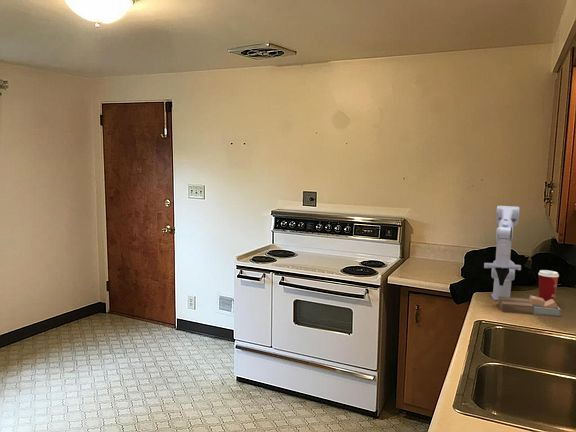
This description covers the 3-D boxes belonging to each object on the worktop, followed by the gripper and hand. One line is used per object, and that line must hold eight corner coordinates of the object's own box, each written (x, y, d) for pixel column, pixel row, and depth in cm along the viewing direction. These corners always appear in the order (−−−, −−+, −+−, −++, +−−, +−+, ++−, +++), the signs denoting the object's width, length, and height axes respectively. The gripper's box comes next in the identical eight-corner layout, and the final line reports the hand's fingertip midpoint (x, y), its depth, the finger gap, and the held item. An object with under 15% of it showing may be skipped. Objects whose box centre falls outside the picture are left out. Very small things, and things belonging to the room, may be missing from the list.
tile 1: (528, 300, 212) (530, 295, 212) (541, 303, 211) (542, 298, 211) (530, 303, 208) (532, 298, 207) (543, 306, 206) (545, 301, 206)
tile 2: (551, 298, 210) (554, 303, 210) (540, 303, 211) (543, 308, 211) (554, 301, 205) (558, 307, 205) (543, 307, 206) (546, 312, 206)
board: (497, 304, 219) (498, 296, 219) (527, 306, 216) (527, 298, 216) (502, 311, 208) (502, 303, 207) (533, 314, 205) (533, 306, 204)
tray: (527, 306, 216) (528, 300, 215) (553, 308, 213) (553, 302, 213) (533, 314, 205) (533, 307, 205) (560, 316, 202) (560, 309, 202)
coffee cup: (559, 307, 215) (561, 274, 213) (538, 306, 216) (541, 273, 215) (553, 302, 223) (555, 270, 221) (533, 301, 224) (535, 269, 223)
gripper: (486, 254, 210) (484, 285, 211) (523, 257, 206) (521, 288, 208) (484, 252, 216) (482, 282, 218) (519, 254, 213) (517, 284, 214)
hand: (501, 285), depth 213 cm, fingers closed
